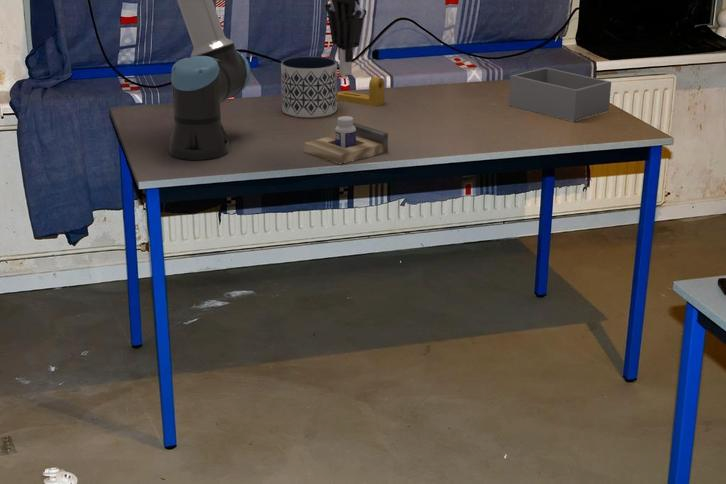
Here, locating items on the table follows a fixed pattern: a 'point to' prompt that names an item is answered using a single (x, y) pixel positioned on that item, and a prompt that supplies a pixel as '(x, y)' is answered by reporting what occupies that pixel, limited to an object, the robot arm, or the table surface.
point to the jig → (366, 146)
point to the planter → (309, 86)
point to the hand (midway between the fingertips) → (345, 74)
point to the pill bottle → (345, 132)
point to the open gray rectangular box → (559, 93)
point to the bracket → (372, 99)
